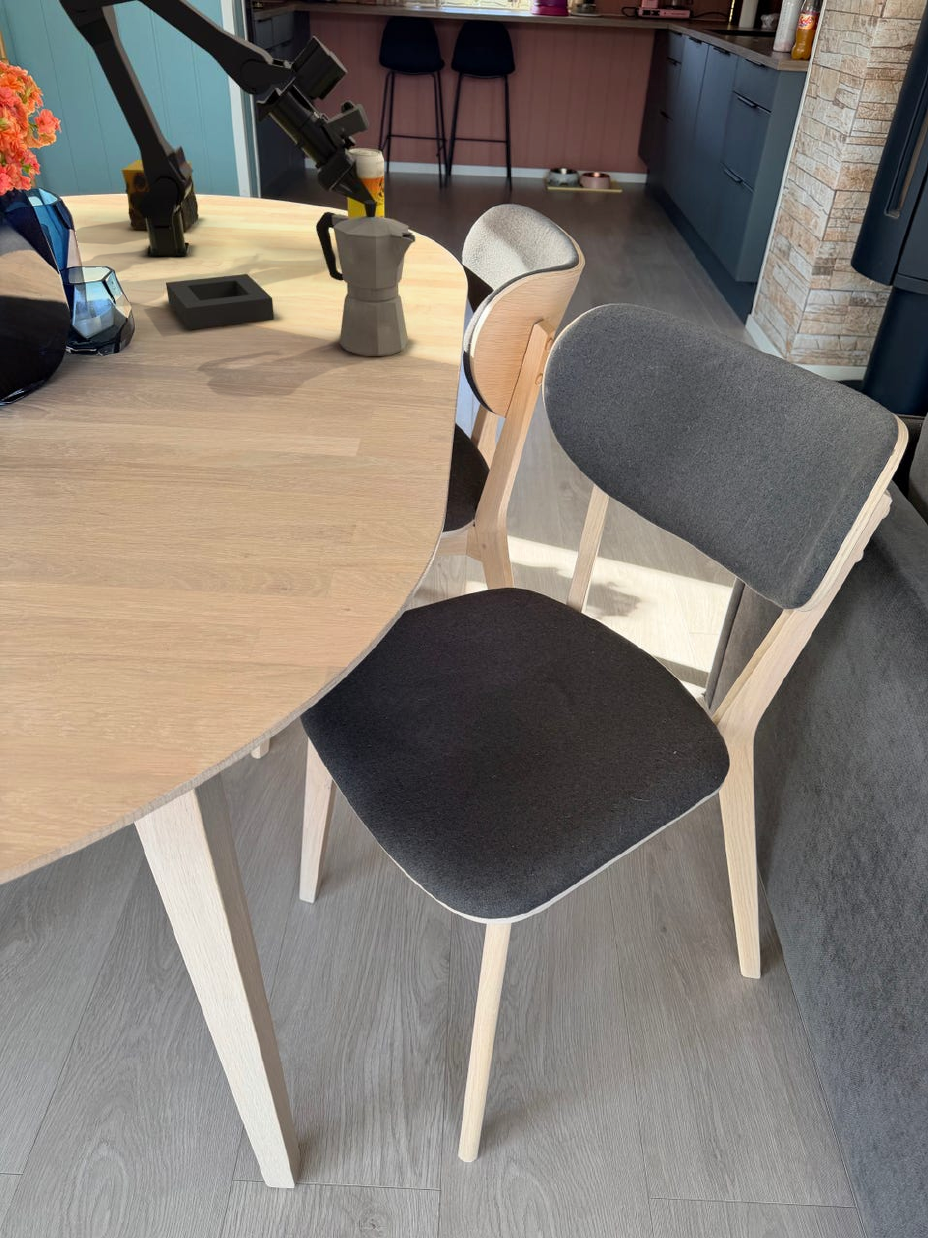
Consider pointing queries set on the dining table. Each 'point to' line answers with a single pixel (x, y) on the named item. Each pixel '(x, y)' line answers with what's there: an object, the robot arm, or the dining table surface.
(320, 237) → the coffeepot
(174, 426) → the dining table surface
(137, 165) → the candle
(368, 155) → the beer can
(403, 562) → the dining table surface
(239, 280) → the socket pad
